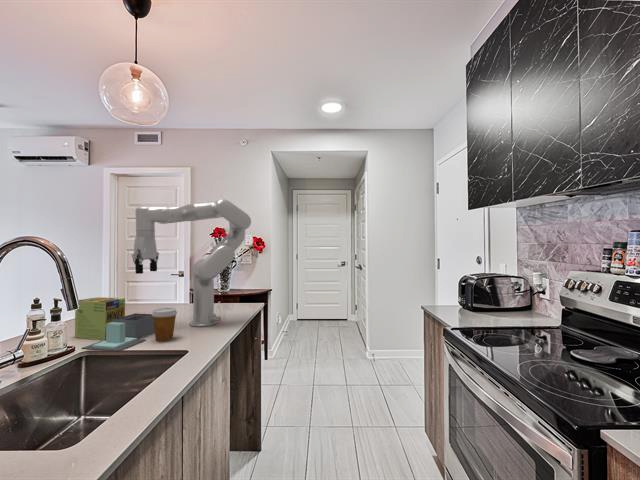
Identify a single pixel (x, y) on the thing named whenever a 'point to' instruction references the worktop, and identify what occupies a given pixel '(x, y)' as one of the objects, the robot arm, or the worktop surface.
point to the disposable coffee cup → (164, 323)
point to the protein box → (97, 316)
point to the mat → (116, 348)
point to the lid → (114, 336)
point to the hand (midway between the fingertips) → (146, 272)
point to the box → (137, 325)
